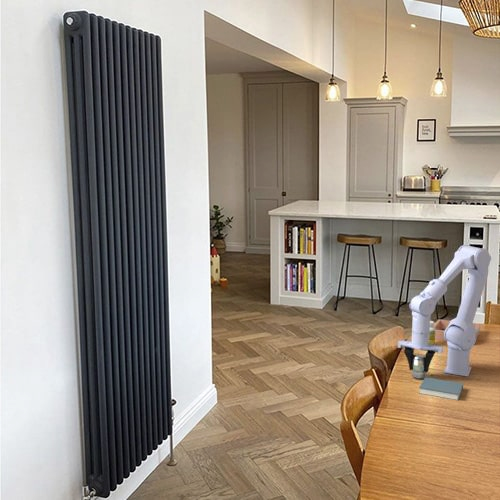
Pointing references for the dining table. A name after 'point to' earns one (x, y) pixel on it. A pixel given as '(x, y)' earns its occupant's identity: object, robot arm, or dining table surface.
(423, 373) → the tea tin
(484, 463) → the dining table surface
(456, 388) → the hardcover book
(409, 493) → the dining table surface
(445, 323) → the open box
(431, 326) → the supplement bottle
